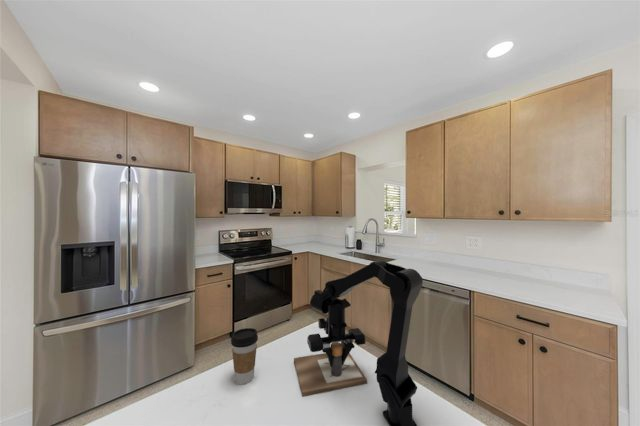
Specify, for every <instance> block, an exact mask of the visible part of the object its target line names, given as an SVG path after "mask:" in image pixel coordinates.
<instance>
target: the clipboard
mask: <svg viewBox="0 0 640 426" xmlns="http://www.w3.org/2000/svg"><path fill="white" fill-rule="evenodd" d="M293 365H294V367H295V373H296V375H297V379H298V380H297V381H298V384H299V389H300V392H301V396H302V397H308V396H311V395H312V396H313V395H318V394H322V393H327V392H332V391H336V390H337V391H338V390H340V389H341V390H342V389H347V388H350V387H351V388H352V387H354V386H356V387H357V386H362V385H365V384H368V379H367V376H365V374H364V372H363V371H362V370H361V368H360V367H359V365H358V363H357V361H355V359H354V357H353V356H352V355H351V352H350V353H349V354H348V356H347V358H346V360H345V362H344V364H343V365H342V374H341V375H340V376H333V375H332V374H331V366H330V364H329V361H328V358H327V355H326V353H324V352H323V353H319V354H311V355H306V356H298V357H293Z"/></svg>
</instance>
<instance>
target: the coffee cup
mask: <svg viewBox="0 0 640 426" xmlns="http://www.w3.org/2000/svg"><path fill="white" fill-rule="evenodd" d="M258 336H259V335H258V331H257V329H256V328H251V327H247V328H242V329H241V328H240V329H237V330H235V331H234V332H233V333H232V337H231V339H230V340H231V341H230V343H231V346H232V348H231V351H232V361H233V362H232V363H233V371H234V372H233V373H234V382H235V383H236V384H237V385H246V384H249V383H250V382H252V381H253V379H254V378H255V367H256V357H257V347H258V344H257V341H259V337H258Z"/></svg>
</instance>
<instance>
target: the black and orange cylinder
mask: <svg viewBox="0 0 640 426" xmlns="http://www.w3.org/2000/svg"><path fill="white" fill-rule="evenodd" d="M330 347H331V349H332V367H331V374H332V375H333V376H340V375H341V374H342V344H341V342H335V343H330Z"/></svg>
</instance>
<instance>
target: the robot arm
mask: <svg viewBox="0 0 640 426" xmlns="http://www.w3.org/2000/svg"><path fill="white" fill-rule="evenodd" d="M374 278H376V279H377V280H378V281H380V283H382V285H383V286H385V287H388V288H389V295H390V297H391V300H392V311H391V317H390V318H391V319H390V325H389V331H388V339H387V347H386V351H385V352H384V353H383V354H381V355H380V356H379V357H377V359H376V369H375V371H374V374H376V383H378V386H379V391H380V394H381V397H382V401H383V402H385V403H386V404H387V407H386V408H387V409H386V410H382V416H383V417H384V419H385V420H386V422H387V424H388V425H389V426H418V424H417V423H416V422H415V421H414V419H413V404H412V397H413V396H414V395H415V394H416V392H417V390H418V386H417V384H416V383H415V381H414V380H413V379H412V377H411V376H410V374H409V365H408V362H407V361H408V360H407V359H406V351H407V344H408V338H409V330H410V323H411V318H412V311H413V305H414V304H415V302H416V300H417V299H418V297H419V295H420V292H421V290H422V286H423V282H424V281H423V277H422V275H421V274H420V272H418V271H417V270H415V269H413V268H405V267H403V266H402V265H401V266H400V265H396V264H393V263H390V262H387V261H385V260H382V259H380V260H376V261H371V262H370V263H369V264H368V265H366V266H364V267H362V268H360V269H359V270H357V271H354V272H352V273H351V274H349V275H346V276H343V277H340V278H336V279H334V280H332V279H331V280H330V281H329V280H328V281H326V282H325V284H324V285H325V286H324V289H323V290H320V289H317V290H314V294H313V295H312V296H311V298H310V301H309V305H310V307H311V309H313V310H316V311H318V312H320V313H322V314H327V318H326V319H325V318H323V317H322V318H318V329H320V330H321V329H323V331H325V334H326V335H327V336H322V337H321V335H320V333H312V334H308V336H307V340H306V341H307V345H308V348H309V350H310V352H311V353H316V352H323V353H326V355H327V358H328V361H329V364H330V366H331V367H332V349H331V343H335V342H339V343H341V344H342V365H343V364H344V362H345V360H346V358H347V356H348V354H349V353H350V354H351V351H352V349H355V347H356V346H355V344H356V345H357V346H361V345H365V344H366V343H367V342H366V341H367V340H366V339H367V338H366V335H365V334H364V332H362V330H361V329H360V328H359V327H355V328H349V329H348V330H347V332H346V328H347V327H348V326H347V323H346V309H347V308H349V307H352V306H351V303H350V302H349V301H348V300H347V298H341V297H343V296H346V295H348V294H349V293H350V292H352V290H353V289H354V288H355V287H357V286H359V285H361V284H364V283H365V282H368V281H370V280H372V279H374ZM354 343H355V344H354Z"/></svg>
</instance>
